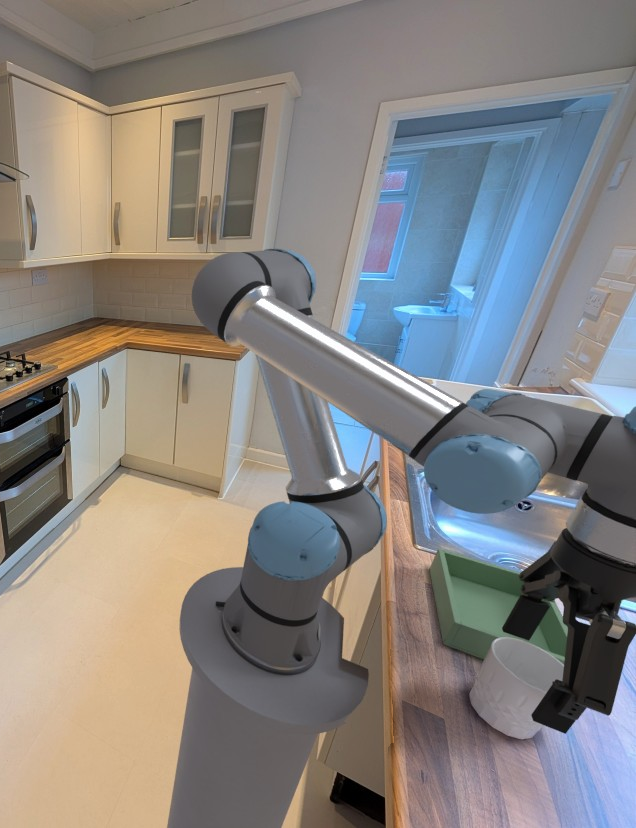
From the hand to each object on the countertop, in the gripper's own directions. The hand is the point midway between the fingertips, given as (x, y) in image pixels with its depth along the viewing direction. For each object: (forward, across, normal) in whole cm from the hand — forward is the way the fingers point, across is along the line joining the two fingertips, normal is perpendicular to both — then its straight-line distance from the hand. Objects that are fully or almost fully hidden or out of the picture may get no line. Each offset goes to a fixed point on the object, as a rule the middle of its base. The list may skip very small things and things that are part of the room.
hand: (529, 675), depth 54 cm
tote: (+8, +18, -2) cm, 20 cm away
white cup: (+8, 0, 0) cm, 9 cm away
